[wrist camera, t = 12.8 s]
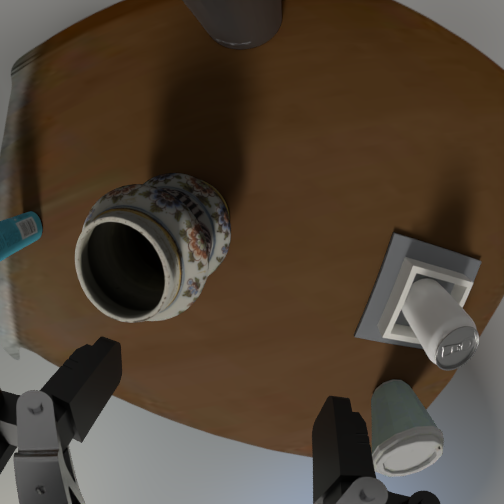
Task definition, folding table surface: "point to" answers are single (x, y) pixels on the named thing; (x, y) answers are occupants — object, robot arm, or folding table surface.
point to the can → (440, 324)
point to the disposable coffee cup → (402, 431)
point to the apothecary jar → (152, 247)
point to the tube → (19, 233)
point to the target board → (399, 283)
